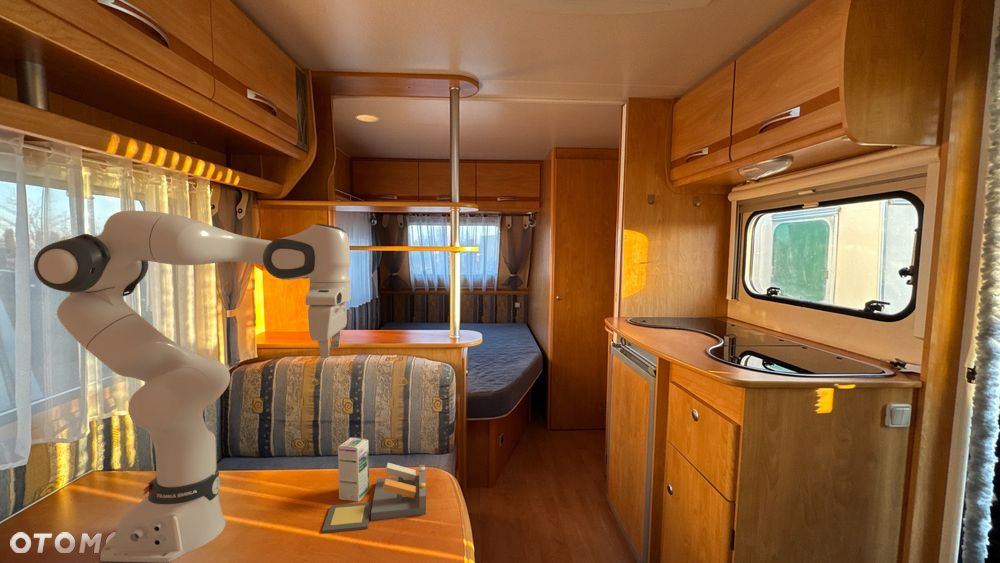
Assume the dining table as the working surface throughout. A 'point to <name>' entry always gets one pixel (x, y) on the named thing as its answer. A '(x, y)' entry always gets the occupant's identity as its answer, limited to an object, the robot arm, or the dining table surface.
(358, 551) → the dining table surface
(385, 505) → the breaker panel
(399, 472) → the block
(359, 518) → the pad
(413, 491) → the block
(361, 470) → the syrup box
